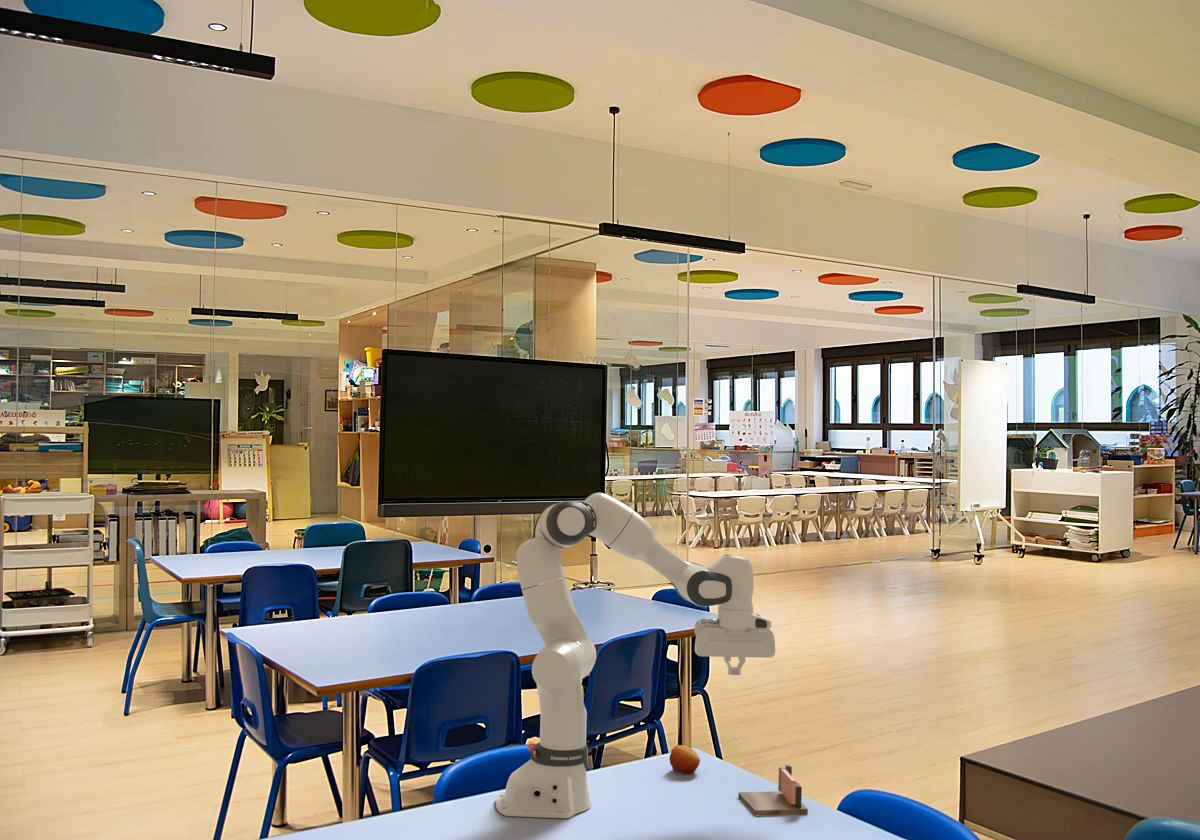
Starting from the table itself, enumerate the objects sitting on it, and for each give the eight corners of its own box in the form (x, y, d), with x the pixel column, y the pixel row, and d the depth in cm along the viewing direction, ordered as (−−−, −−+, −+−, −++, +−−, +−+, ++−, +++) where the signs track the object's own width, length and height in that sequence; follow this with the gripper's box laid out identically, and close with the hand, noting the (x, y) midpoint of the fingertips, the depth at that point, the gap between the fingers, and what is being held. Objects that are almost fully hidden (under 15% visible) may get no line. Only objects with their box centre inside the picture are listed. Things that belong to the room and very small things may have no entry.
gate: (796, 804, 227) (797, 780, 228) (789, 804, 227) (790, 780, 228) (783, 789, 238) (784, 766, 238) (777, 789, 238) (778, 766, 238)
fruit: (660, 762, 259) (675, 736, 260) (684, 777, 259) (699, 751, 260) (665, 771, 251) (681, 745, 252) (690, 787, 251) (706, 761, 252)
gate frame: (755, 815, 225) (755, 780, 225) (738, 797, 237) (739, 764, 237) (807, 814, 227) (808, 779, 227) (788, 795, 239) (789, 763, 240)
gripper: (696, 620, 240) (695, 676, 239) (777, 622, 241) (776, 677, 240) (692, 616, 246) (691, 671, 245) (771, 618, 247) (770, 672, 246)
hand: (734, 674), depth 243 cm, fingers closed
